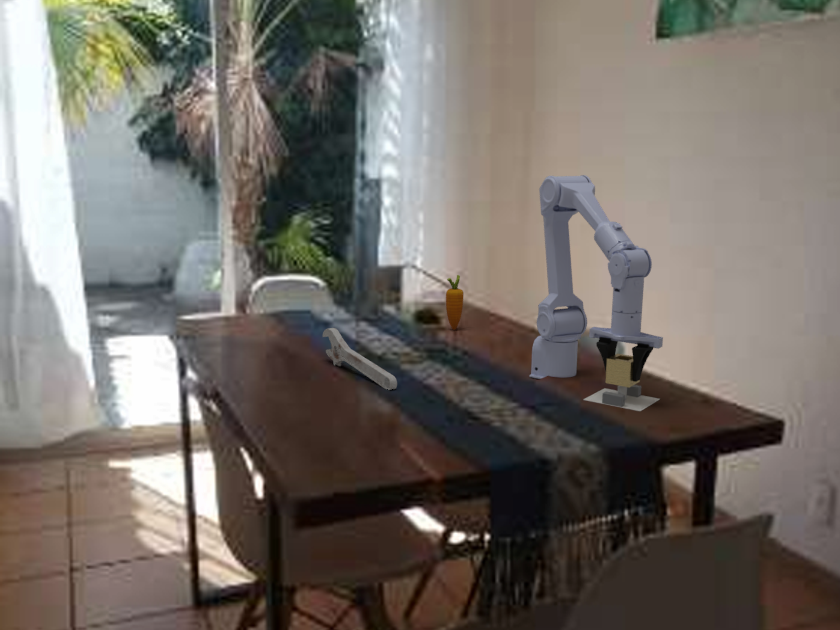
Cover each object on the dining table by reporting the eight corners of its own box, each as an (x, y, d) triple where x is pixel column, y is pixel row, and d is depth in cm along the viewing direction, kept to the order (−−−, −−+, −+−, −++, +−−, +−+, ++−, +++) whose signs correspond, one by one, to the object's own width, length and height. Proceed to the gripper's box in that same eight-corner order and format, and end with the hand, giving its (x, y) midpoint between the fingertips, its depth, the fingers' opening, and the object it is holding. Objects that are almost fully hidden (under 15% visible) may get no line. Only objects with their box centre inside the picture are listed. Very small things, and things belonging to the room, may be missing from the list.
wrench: (388, 404, 187) (321, 357, 211) (396, 402, 188) (328, 356, 212) (391, 368, 185) (322, 325, 208) (398, 367, 186) (329, 324, 209)
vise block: (582, 405, 178) (584, 377, 177) (604, 393, 186) (605, 367, 185) (639, 417, 171) (641, 388, 170) (659, 404, 179) (661, 377, 178)
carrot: (448, 332, 240) (449, 277, 237) (442, 328, 245) (443, 274, 242) (465, 331, 242) (466, 276, 238) (459, 327, 246) (461, 273, 243)
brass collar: (605, 382, 177) (606, 358, 176) (616, 377, 181) (617, 353, 180) (629, 387, 174) (630, 362, 173) (639, 381, 178) (641, 357, 177)
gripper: (583, 309, 176) (580, 375, 178) (654, 319, 167) (649, 389, 170) (599, 303, 181) (595, 368, 184) (668, 313, 173) (663, 380, 176)
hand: (622, 377), depth 177 cm, fingers closed on brass collar, 5 cm apart
